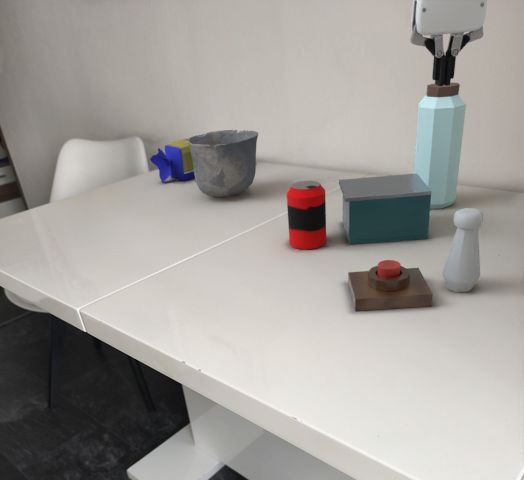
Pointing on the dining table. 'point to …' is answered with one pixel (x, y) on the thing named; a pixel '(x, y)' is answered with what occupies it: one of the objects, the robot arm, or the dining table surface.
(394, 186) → the lid
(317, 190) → the soda can
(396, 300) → the button block
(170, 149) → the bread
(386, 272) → the button
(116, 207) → the dining table surface
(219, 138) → the cup
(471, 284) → the salt shaker
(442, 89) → the water bottle
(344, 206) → the tin
